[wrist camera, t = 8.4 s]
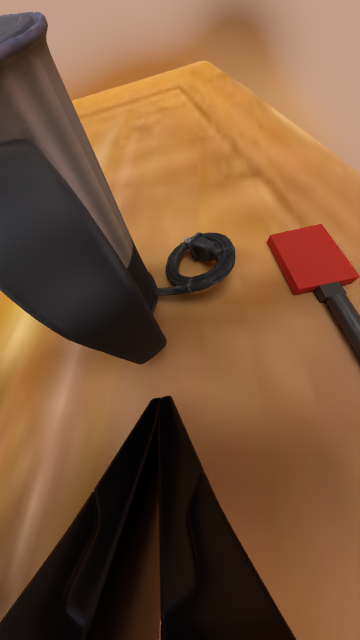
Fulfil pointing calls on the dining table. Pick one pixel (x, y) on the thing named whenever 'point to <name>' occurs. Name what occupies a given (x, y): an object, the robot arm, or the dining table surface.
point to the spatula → (318, 272)
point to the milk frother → (73, 215)
